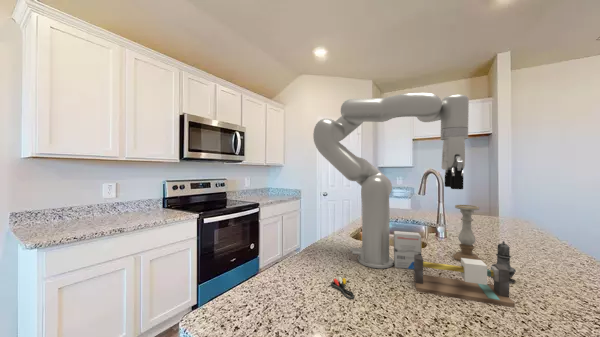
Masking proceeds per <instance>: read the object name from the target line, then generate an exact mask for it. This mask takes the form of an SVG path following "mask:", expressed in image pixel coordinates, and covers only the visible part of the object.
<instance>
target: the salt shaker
mask: <svg viewBox="0 0 600 337" xmlns="http://www.w3.org/2000/svg"><path fill="white" fill-rule="evenodd" d="M510 250H511V249H510V245H509V244H506V243H505V240H502V242H501V243H498V244H497V253H496V254H495V255H496V263H493V264H491V265H490V267H491V266H494V264H501V265H504V266H505V267H506V268H507V269H508V270H509V284H514V283H515V282H516V281H515V279H513V278H512V277H514V275H515V273H517V270H516V269H515V268H514V267H512V266H511V258H512V256H511V255H510V254H511V253H510Z"/></svg>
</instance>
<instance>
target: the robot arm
mask: <svg viewBox="0 0 600 337" xmlns="http://www.w3.org/2000/svg"><path fill="white" fill-rule="evenodd" d="M469 103H470V102H469V97H468V96H467V95H466V94H452V95H448V96H446V97H444V98H442V99H441V97H439V96H438V94H435V93H432V92H431V93H430V92H413V93H412V92H409V93H401V94H397V95H390V96H386V97H376V98H375V97H374V98H373V97H369V98H368V97H367V98H349V99H346V100H345V101H343V103H342V104H341V106H340V115H341V116H340V117H338V119H336V120H334V119H332V118H323V119H320V120H318V121H317V122H316V124H315V126H314V128H313V133H312V136H313V142H314V145H315V147H316V149H317V151H318V152H319V153H320V155H321V156H323V158H324V159H326V161H328V162H329V164H331V165H332V166H333V167H334V168H335V169H336V170H337V171H338V172H339V173H341V175H343V177H345V178H346V179H347V180H348V181H350V182H356V183H357V184H359V186H361V188H360V189H361V190H360V194H361V196H360V198H361V211H362V214H361V215H362V216H361V218H362V219H361V220H362V221H361V222H362V223H361V224H362V226H361V228H362V230H361V231H362V232H361V233H362V236H361V238H362V240H361V242H362V244H361V247H358V248H357V247H350V248H349V250H350V253H351V254H352V255H356V256H357V261H358V263H360V265H363V266H366V267H368V268H371V269H389V268H392V267H393V266H394V258H393V257H390V234H391V233H390V230H391V229H390V224H391V222H390V195H391V193H392V191H393V185H392V182H391V180H390V179H389V178H388V177H387V176H386V175H385V174H384V173H383V172H381V171H380V170H379V169H378V168H376V166H375V165H373V164H372V163H371V162H369V161H368V160H367V159H365V158H363V157H359V156H357V155H355V154H354V153H353V152H352V151H350V149H348V148H347V147H346V146H345V145H344V144H342V143H341V141H343V140H344V139H345V138H347V137H348V136H349V135H350V134H351V133H353V132H354V131H355V130H356V129H358V128H359V127H360V126H361V125H363V123H364V122H368V123H370V122H371V123H384V122H388V121H390V120H392V119H396V118H405V117H406V118H408V117H409V118H410V117H415V118H417V120H418V121H420V122H422V123H433V122H437V121H440V141H443V143H442V151H441V169H442V170H444V187H446V188H450V189H451V190H463V189H464V169H465V165H466V143H465V142H466V140H468V139H469V110H470V108H469V106H470V105H469Z"/></svg>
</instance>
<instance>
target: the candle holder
mask: <svg viewBox="0 0 600 337" xmlns="http://www.w3.org/2000/svg"><path fill="white" fill-rule="evenodd" d="M454 208H455V209H458V210H460V211H459V212H460V213H461V214H462V217H461V218H460V220H461V223H462V226H461V230H460V232H459V234H458V236H457V238H458V241H459V242H460V244H459V245H458V246H459V247H460V251H459V250H458V251H455V253H453V254H452V258H453V259H454V260H455V261H457V262H460V263H461V258H467V259H475V260H482V259H481V258H480V257H479V256H478V255H477V254H476V253H473V250H474V249H475V246H474V244H475V243H476V241H477V240H476V236H475V235H474V233H473V229H472V222H473V221H474V220H473V217H472V216H473V214H474V211H479V210H480V207H479V206H477V205H471V204H470V205H469V204H455V205H454Z"/></svg>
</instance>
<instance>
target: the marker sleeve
mask: <svg viewBox="0 0 600 337" xmlns="http://www.w3.org/2000/svg"><path fill="white" fill-rule="evenodd" d="M460 266H462V267H464V272H460V277H461V278H462V279H463V280H464V281H465V282H470V283H477V284H484V285H487V284H488V276H487V269H488V265H487V264H486V263H485V262H484V261H483V260H482V259H481V260H475V259H467V258H461V262H460Z"/></svg>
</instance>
